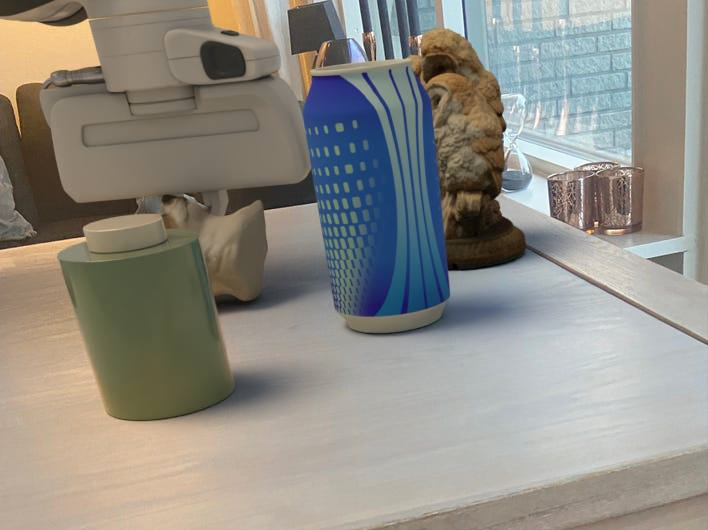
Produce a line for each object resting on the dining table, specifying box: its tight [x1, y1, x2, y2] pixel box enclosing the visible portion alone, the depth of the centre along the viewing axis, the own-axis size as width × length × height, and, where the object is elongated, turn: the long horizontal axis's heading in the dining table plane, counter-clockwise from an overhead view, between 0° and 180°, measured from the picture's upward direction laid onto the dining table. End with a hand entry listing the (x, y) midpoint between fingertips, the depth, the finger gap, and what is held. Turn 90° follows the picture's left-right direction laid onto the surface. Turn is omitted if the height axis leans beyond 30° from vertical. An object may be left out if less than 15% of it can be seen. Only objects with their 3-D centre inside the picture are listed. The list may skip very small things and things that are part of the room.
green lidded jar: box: [56, 213, 236, 421], centre depth 57 cm, size 8×8×10 cm
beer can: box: [302, 58, 451, 334], centre depth 65 cm, size 8×8×16 cm
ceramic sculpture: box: [156, 194, 269, 302], centre depth 76 cm, size 11×9×15 cm
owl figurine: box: [405, 27, 527, 270], centre depth 82 cm, size 18×12×17 cm, turn 28°
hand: (206, 250), depth 80 cm, fingers closed, pressing on ceramic sculpture
